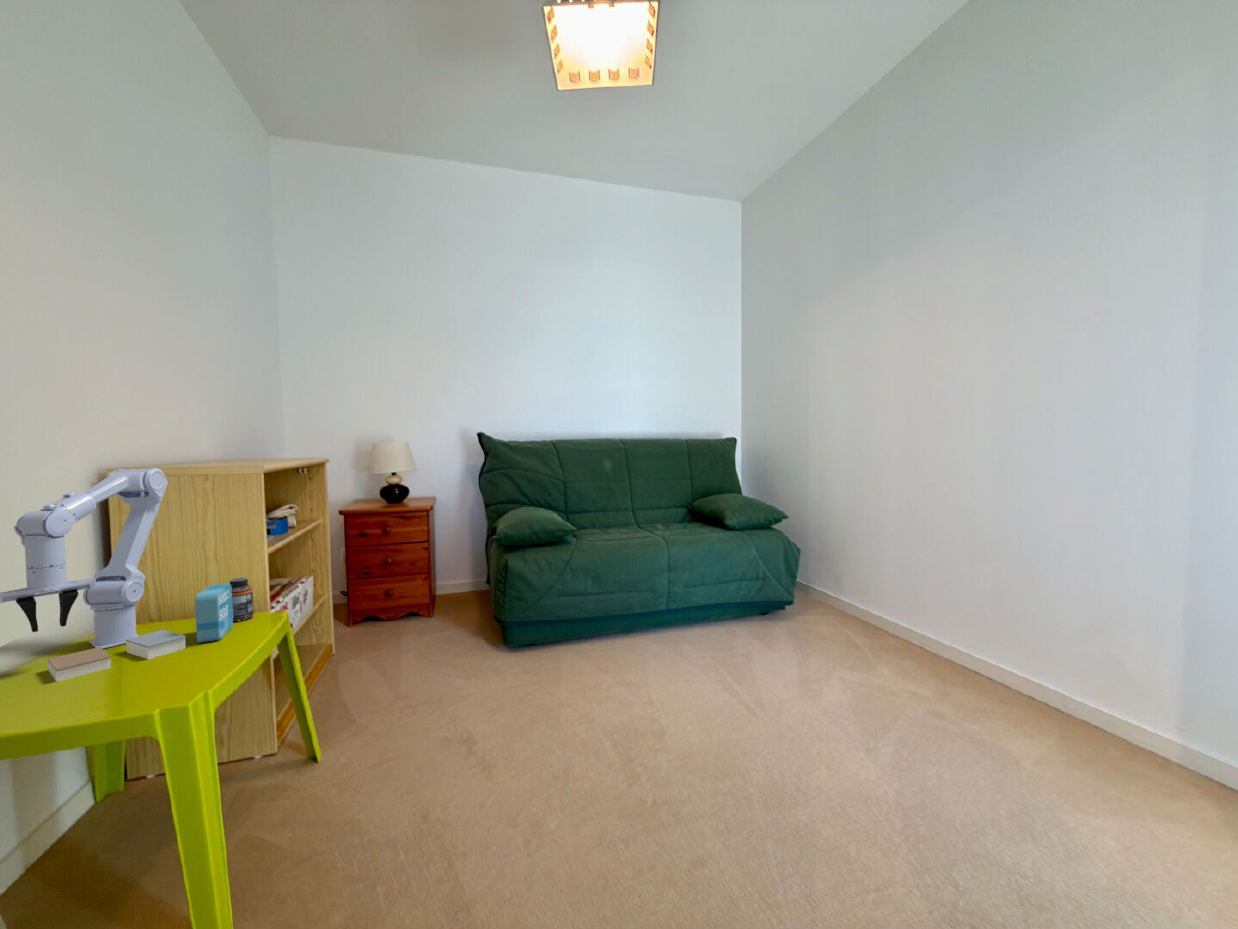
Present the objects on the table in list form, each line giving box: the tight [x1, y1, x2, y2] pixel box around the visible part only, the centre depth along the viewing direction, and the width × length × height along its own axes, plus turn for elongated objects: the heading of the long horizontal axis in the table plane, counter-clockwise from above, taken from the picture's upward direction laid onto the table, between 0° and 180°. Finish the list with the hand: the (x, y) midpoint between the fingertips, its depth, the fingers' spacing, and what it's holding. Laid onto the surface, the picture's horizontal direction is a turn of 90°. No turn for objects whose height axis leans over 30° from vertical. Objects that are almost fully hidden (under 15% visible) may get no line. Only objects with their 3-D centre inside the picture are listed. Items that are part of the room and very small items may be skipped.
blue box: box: [194, 583, 234, 643], centre depth 129 cm, size 12×4×12 cm, turn 24°
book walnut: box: [47, 647, 112, 682], centre depth 109 cm, size 10×8×3 cm
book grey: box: [125, 629, 187, 661], centre depth 120 cm, size 11×7×3 cm, turn 64°
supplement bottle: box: [229, 577, 254, 621], centre depth 142 cm, size 6×6×11 cm
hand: (49, 628), depth 110 cm, fingers open, 3 cm apart
